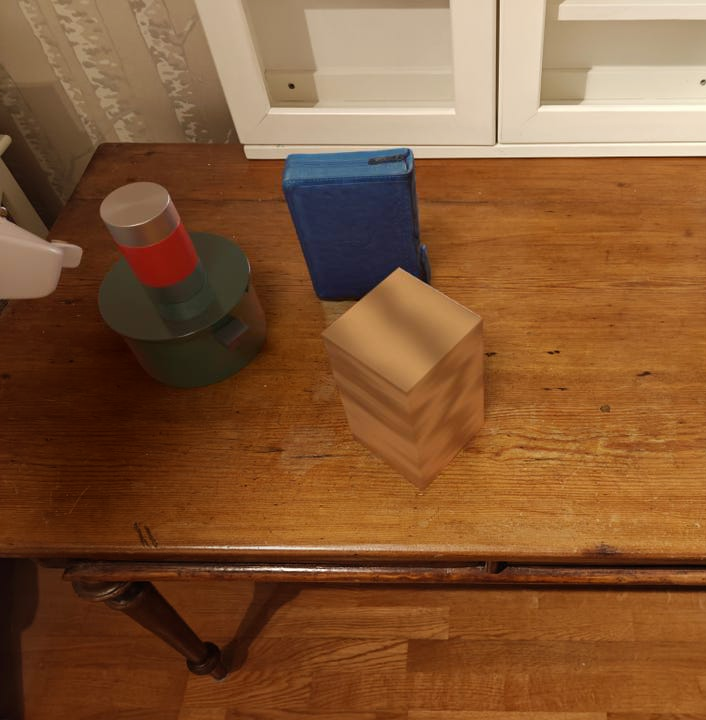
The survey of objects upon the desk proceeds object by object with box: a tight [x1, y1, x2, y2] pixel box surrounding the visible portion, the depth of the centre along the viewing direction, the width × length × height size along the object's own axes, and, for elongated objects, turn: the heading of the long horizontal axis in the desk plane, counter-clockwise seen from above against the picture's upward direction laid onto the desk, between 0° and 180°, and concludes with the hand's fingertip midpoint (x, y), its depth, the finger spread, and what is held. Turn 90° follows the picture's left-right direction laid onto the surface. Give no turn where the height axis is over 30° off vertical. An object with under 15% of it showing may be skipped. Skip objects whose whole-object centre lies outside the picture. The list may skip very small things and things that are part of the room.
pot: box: [97, 230, 268, 389], centre depth 79 cm, size 16×20×9 cm
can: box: [99, 181, 206, 304], centre depth 71 cm, size 6×6×11 cm
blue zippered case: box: [281, 147, 432, 301], centre depth 79 cm, size 14×5×20 cm, turn 94°
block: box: [320, 268, 485, 492], centre depth 68 cm, size 10×10×18 cm
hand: (37, 234), depth 59 cm, fingers open, 8 cm apart
